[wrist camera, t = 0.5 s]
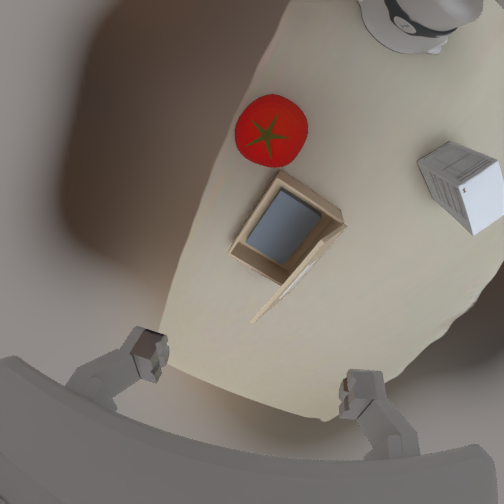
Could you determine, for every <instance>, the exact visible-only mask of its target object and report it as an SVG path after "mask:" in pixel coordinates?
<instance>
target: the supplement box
mask: <svg viewBox="0 0 504 504" xmlns="http://www.w3.org/2000/svg"><path fill="white" fill-rule="evenodd" d="M417 163H418V166H419V168H420V170H421V172H422V174H423V176H424V179H425V181H426V183H427V186H428V188H429V190H430V193H431V195H432V198H433V200H435V201H436V202H437V203H438V204H439V205H440V206H441V207H443V208H444V209H445V210H446V211H447V212H448V213H449V214H450V215H452V216H453V217H454V218H455V219H456V220H457V221H458V222H459V223H460V224H461V225H462V226H463V227H464V228H465V229H466V230H467V231H468V232H469V233H470V234H471V235H473V236H474V235H476V234H477V233H478V232H480V231H481V230H483V229H484V228H486V227H487V226H489V225H490V224H491V223H493V222H494V221H496V220H497V219H498V218H500V217H501V216H503V215H504V180H503V176H502V172H501V169H500V165H499V162H498V160H496V159H494V158H491V157H489V156H487V155H484V154H482V153H479V152H477V151H474V150H471V149H469V148H466V147H464V146H461V145H458V144H455V143H453V142H448V143H446V144H445V145H443V146H441V147H440V148H438V149H437V150H435V151H433V152H432V153H430V154H428V155H427V156H425V157H423V158H422V159H420V160H418V161H417Z"/></svg>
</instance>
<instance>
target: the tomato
mask: <svg viewBox="0 0 504 504" xmlns="http://www.w3.org/2000/svg"><path fill="white" fill-rule="evenodd" d="M307 134H308V123H307V119H306V117H305V115H304V113H303V112H302V110H301V109H300V108H299V107H298V106H297V105H296V104H294V103H293V102H291V101H290V100H288V99H286V98H284V97H282V96H279V95H274V94H271V95H265V96H262V97H260V98H258V99H256V100H255V101H253V102H252V103H251V104H250V105H249V106H248V107H247V108H246V109H245V110H244V112H243V113H242V114H241V116H240V117H239V119H238V121H237V123H236V127H235V142H236V145H237V148H238V150H239V151H240V153H241V154H242V155H243V156H244V157H245V158H246V159H248V160H250V161H252V162H254V163H257V164H260V165H263V166H267V167H273V168H277V167H283V166H285V165H287V164H289V163H290V162H292V161H293V160H294V159H295V158H296V156H297V155H298V153H299V152H300V150H301V148H302V147H303V145H304V142H305V140H306V137H307Z"/></svg>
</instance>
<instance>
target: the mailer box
mask: <svg viewBox="0 0 504 504" xmlns="http://www.w3.org/2000/svg"><path fill="white" fill-rule="evenodd" d="M343 224H344V220H343V217H342V213H341V210H339V209H338V208H336V207H335V206H334V205H332V204H331V203H329V202H328V201H327V200H325V199H324V198H322V197H321V196H319V195H318V194H316V193H315V192H313V191H312V190H311V189H309V188H308V187H306V186H305V185H303V184H302V183H300V182H299V181H297V180H295V179H294V178H292V177H291V176H289V175H288V174H286V173H285V172H283V171H282V170H280V171H279V172H278V174H277V175H276V177H275V178H274V180H273V181H272V183H271V184H270V186H269V187H268V189H267V190H266V192H265V193H264V195H263V196H262V198H261V199H260V201H259V202H258V204H257V205H256V207H255V209H254V210H253V212H252V213H251V215H250V216H249V218H248V219H247V221H246V222H245V224H244V225H243V227H242V228H241V230H240V232H239V233H238V235H237V236H236V238H235V239H234V241H233V243H232V245H231V247H230V249H229V251H228V253H227V254H228V255H230V256H231V257H233V258H235V259H236V260H238V261H240V262H241V263H243V264H245V265H246V266H248V267H250V268H251V269H253V270H255V271H257V272H258V273H260V274H262V275H263V276H265V277H267V278H268V279H270V280H272V281H273V282H275V283H277V284H279V285H280V286H282V285H283V284H284V282H285V281H286V280H287V279H288V278H289V277H290V276H291V274H292V273H293V272H294V271H295V270H296V268H297V267H298V266H299V265H300V264H301V263H302V261H303V260H304V259H305V258H306V257H307V255H308V254H309V253H310V252H311V251H312V250H313V248H314V247H315V246H316V245H317V243H318V242H319V241H320V240H321V239H322V238H324V237H326V236H327V235H329V234H330V233H332V232H333V231H335V230H336V229H338V228H339V227H341V226H342V225H343Z"/></svg>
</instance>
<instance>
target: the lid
mask: <svg viewBox="0 0 504 504" xmlns="http://www.w3.org/2000/svg"><path fill="white" fill-rule="evenodd" d="M346 227H347V226H346V225H345V224H344V225H342V226H341V227H339V228H338V229H336V230H335V231H333V232H332V233H330V234H329V235H327V236H326V237H324V238H322V239H321V240H320V241H319V242H318V243H317V245H316V246H315V247H314V248H313V250H312V251H311V252H310V253H309V254H308V255H307V257H306V258H305V259H304V260H303V261H302V263H301V264H300V265H299V266H298V267H297V268H296V270H295V271H294V272H293V273H292V274H291V276H290V277H289V278H288V279H287V280H286V281H285V282H284V284H283V285H282V286H281V287H280V288H279V289H278V291H277V292H276V293H275V294H274V295H273V296H272V297H271V299H270V300H269V301H268V302H267V303H266V304H265V305H264V306H263V308H262V309H261V310H260V311H259V312H258V313H257V314H256V315H255V316H254V318H253V319H252V320H251V321H250V322H251V323H252V324H253V323H255V322H256V321H257V320H258V319H259V318H261V317H262V316H263V315H264V314H265V313H266V312H268V311H269V310H270V309H271V308H272V307H274V306H275V305H276V304H277V303H278V302H279V301H281V300H282V299H283V298H284V297H285V296H286V295H288V294H289V293H290V292H291V291H292V289H293V288H294V287H295V286H296V285H297V284H298V283H299V282H300V281H301V279H302V278H303V277H304V276H305V275H306V274H307V273H308V272H309V270H310V269H311V268H312V267H313V266H314V265H315V264H316V262H317V261H318V260H319V259H320V258H321V257H322V256H323V254H324V253H325V252H326V251H327V250H328V249H329V247H330V246H331V245H332V244H333V243H334V242H335V240H336V239H337V238H338V237H339V236H340V234H341V233H342V232H343V231H344V230H345V228H346Z"/></svg>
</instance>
